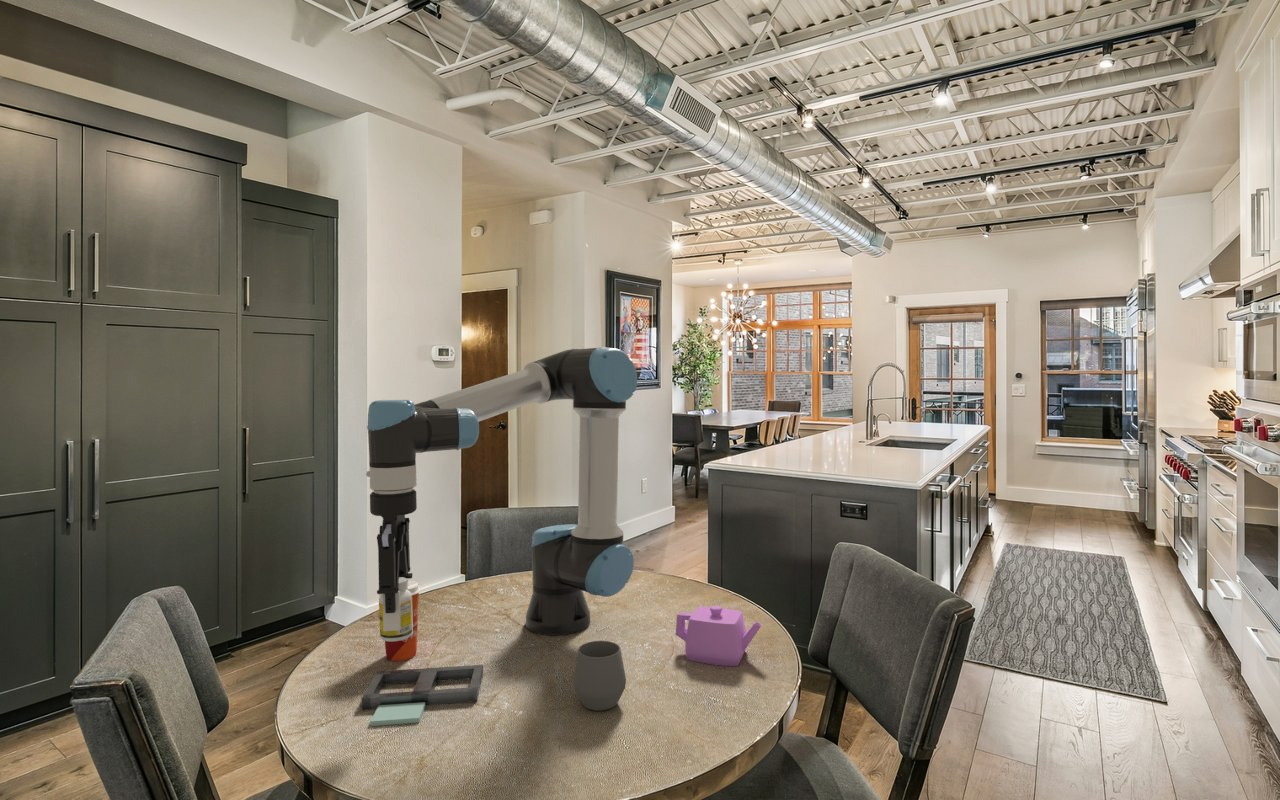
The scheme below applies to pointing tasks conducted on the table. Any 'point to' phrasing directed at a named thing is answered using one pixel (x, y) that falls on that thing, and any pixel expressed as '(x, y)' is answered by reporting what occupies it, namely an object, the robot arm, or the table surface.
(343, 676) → the table surface
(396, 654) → the coffee cup
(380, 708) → the mat
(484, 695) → the table surface
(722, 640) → the teapot
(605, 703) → the cup
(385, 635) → the supplement bottle
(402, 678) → the grey rectangular frame
